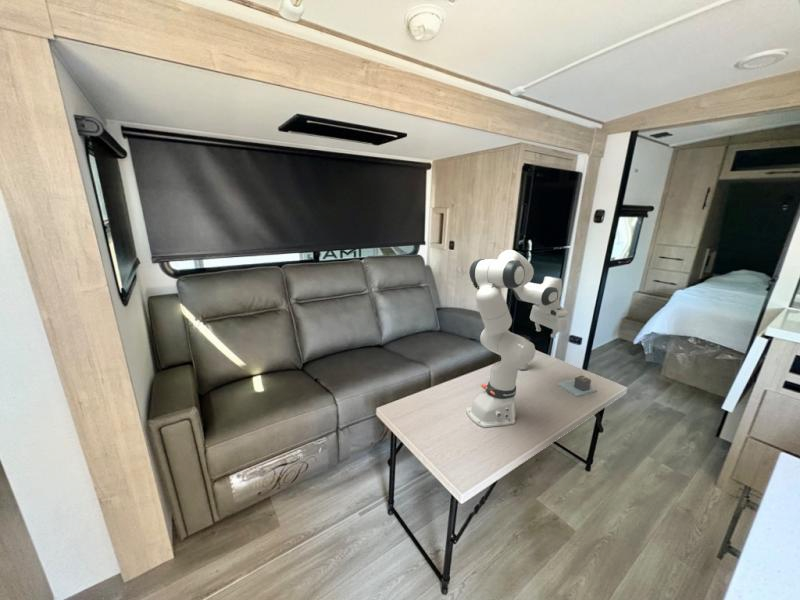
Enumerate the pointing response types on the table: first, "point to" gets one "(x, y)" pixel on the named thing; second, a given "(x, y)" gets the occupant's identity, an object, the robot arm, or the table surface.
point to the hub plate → (573, 390)
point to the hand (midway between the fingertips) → (545, 334)
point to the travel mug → (525, 366)
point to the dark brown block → (582, 383)
